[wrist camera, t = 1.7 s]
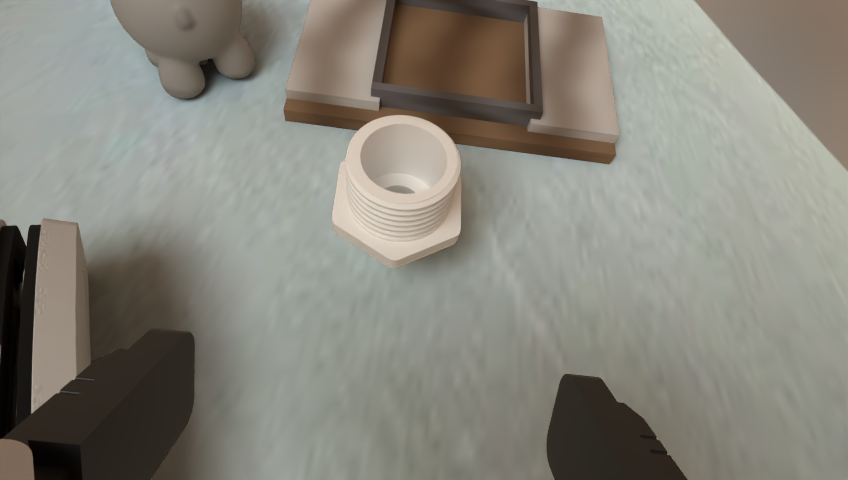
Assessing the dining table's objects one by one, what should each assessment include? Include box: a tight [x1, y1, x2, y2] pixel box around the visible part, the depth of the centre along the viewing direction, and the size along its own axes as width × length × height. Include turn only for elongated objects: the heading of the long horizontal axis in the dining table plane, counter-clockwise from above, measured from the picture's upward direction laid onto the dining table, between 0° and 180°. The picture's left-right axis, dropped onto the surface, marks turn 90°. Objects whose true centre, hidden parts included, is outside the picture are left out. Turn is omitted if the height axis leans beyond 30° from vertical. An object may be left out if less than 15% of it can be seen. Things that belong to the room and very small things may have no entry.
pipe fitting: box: [332, 115, 461, 269], centre depth 26 cm, size 6×7×8 cm
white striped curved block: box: [0, 218, 91, 439], centre depth 19 cm, size 17×5×10 cm, turn 18°
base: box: [284, 0, 620, 164], centre depth 36 cm, size 22×14×2 cm, turn 86°
